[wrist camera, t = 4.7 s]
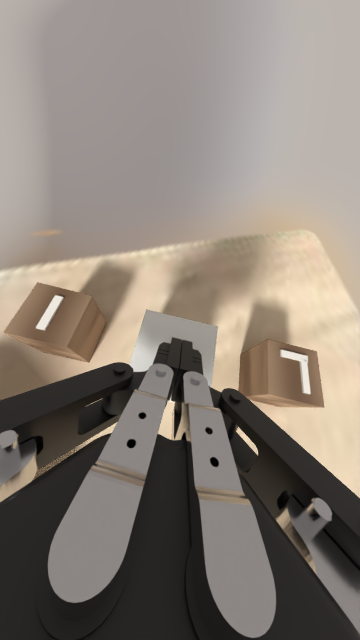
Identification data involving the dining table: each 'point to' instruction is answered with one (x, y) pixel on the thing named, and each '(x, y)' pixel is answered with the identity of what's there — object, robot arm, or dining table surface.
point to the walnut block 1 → (58, 322)
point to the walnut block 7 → (281, 375)
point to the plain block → (162, 330)
